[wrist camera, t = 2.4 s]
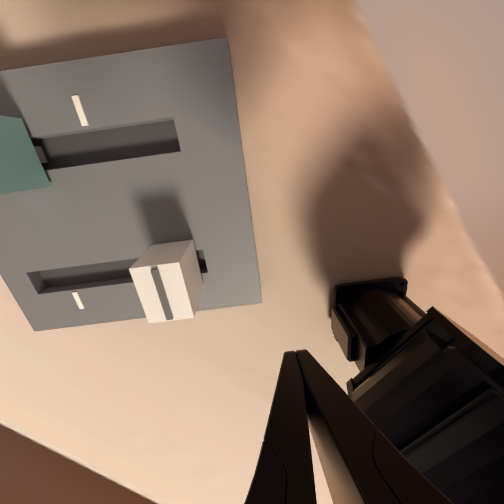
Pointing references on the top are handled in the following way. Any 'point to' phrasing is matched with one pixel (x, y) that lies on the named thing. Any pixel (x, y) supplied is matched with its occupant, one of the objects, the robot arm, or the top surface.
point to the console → (126, 182)
